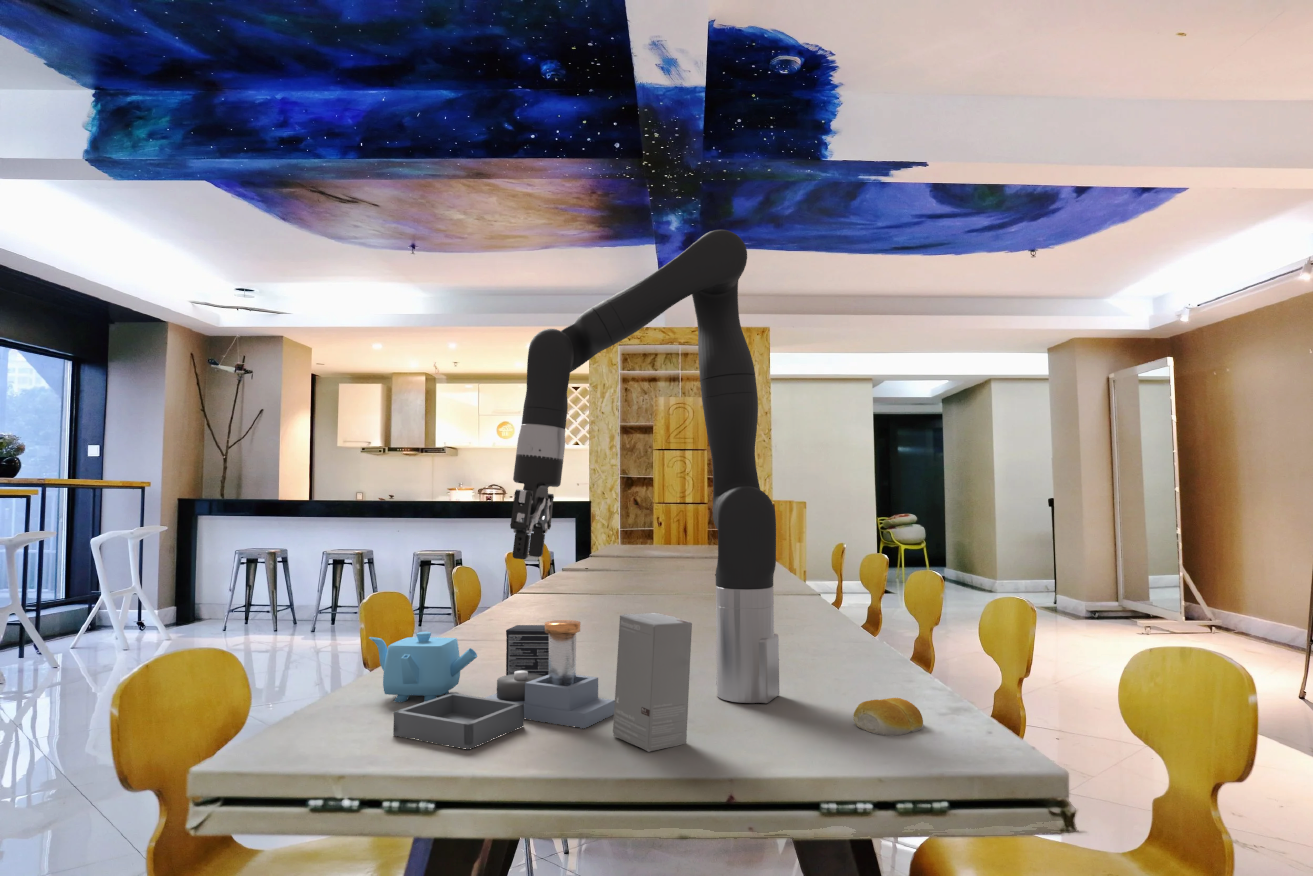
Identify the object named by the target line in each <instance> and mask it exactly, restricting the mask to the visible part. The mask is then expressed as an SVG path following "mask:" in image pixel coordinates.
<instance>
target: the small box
mask: <svg viewBox="0 0 1313 876" xmlns="http://www.w3.org/2000/svg"><path fill="white" fill-rule="evenodd" d="M505 637H506V640H505V642H506V644H505V645H506V646H505V647H506V649H505V651H506V652H505V654H506V655H505V662H506V663H505V668H506V669H505V676H506V675H512V674H514V672H515V671H528V674H538V675H541V676H546V675H548V663H549V633H545V624H516V625H514V626H512V627H510V628H508V629H506V630H505Z"/></svg>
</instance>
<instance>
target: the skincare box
mask: <svg viewBox="0 0 1313 876" xmlns="http://www.w3.org/2000/svg"><path fill="white" fill-rule="evenodd" d="M618 625H619V627H618V643H617V656H616V657H617V658H616V659H617V660H616V672H615V673H616V676H615V688H614V689H615V692H614V700H615V706H614V715H613V723H612V724H613V726H612V734H613V737H615V738H616V739H620V740H622V741H624V742H627V743H629V744H631V745H633V746H636V747H639V748H640V749H643V750H645V751H647V752H650V753H651V752H654V751H658V750H662V749H667V748H672V747H673V748H674V747H677V746H681V745H685V744H687V741H688V740H687V736H688V732H687V731H688V719H689V718H688V714H689V693H690V691H689V690H690V673H691V672H690V669H691V652H692V649H691V647H692V633H693V631H692V629H693V623H692V622H691V621H689V620H685V619H682V618H678V617H677V616H673V615H666V614H662V613H658V612H648V613H647V612H645V613H624V614H620V615H619V624H618Z"/></svg>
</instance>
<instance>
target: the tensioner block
mask: <svg viewBox="0 0 1313 876" xmlns="http://www.w3.org/2000/svg"><path fill="white" fill-rule="evenodd" d="M483 698H489V699H496V700H502V701H509V702H516V703H522V704H524V718H526V719H531V720H530V721H532V720H535V721H534V722H538V721H541V722H540V723H545V722H548V723H547V724H551V723H554V724H553V725H557V724H561V725H560V726H563V725H568V726H567V727H569V726H575V727H580V728H579V729H582V728H585V729H587V728H586V727H588V726H590V727H591V725H592V726H593V724H594V725H596V724H598V723H599V721H600V722H601V721H604V720H606V719H608V718H610V717H612V716H614V706H615V699H609V698H601V697H599V677H598V676H589V675H581V674H576V683H575V684H572V685H570V686H560V685H553V684H548V675H546V676H541V675H538V674H528V671H515V672H514V674H512V675H506V674H505V675H504V676H499V677H498V678H497V680H496V693H492V694H491V695H487V696H485V697H483ZM605 718H606V719H605ZM526 719H525V720H526ZM603 719H604V720H603ZM597 722H598V723H597ZM595 723H596V724H595ZM575 727H574V728H575ZM588 728H589V727H588Z"/></svg>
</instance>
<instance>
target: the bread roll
mask: <svg viewBox="0 0 1313 876" xmlns="http://www.w3.org/2000/svg"><path fill="white" fill-rule="evenodd" d="M852 717H853V718H852V719H853V722H854V724H855V726H857V728H858V729H861V730H863V731H865V732H869V733H872V734H876V735H880V736H881V735H883V736H901V735H905V734H908V733H914V732H915V733H916V732H918V731H920V730H921V729H922V728H923V726H924V719H923V716H922V713H921V711H920V709H919V708H918V707H917V706H916V705H915V704H913V703H912V702H910V701H909V700H907V699H904V698H900V697H891V698H883V699H871V700H866V701H862V702H861V703H859V704H858V705H857V707H856V708H855V710H854V712H853V716H852Z"/></svg>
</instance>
